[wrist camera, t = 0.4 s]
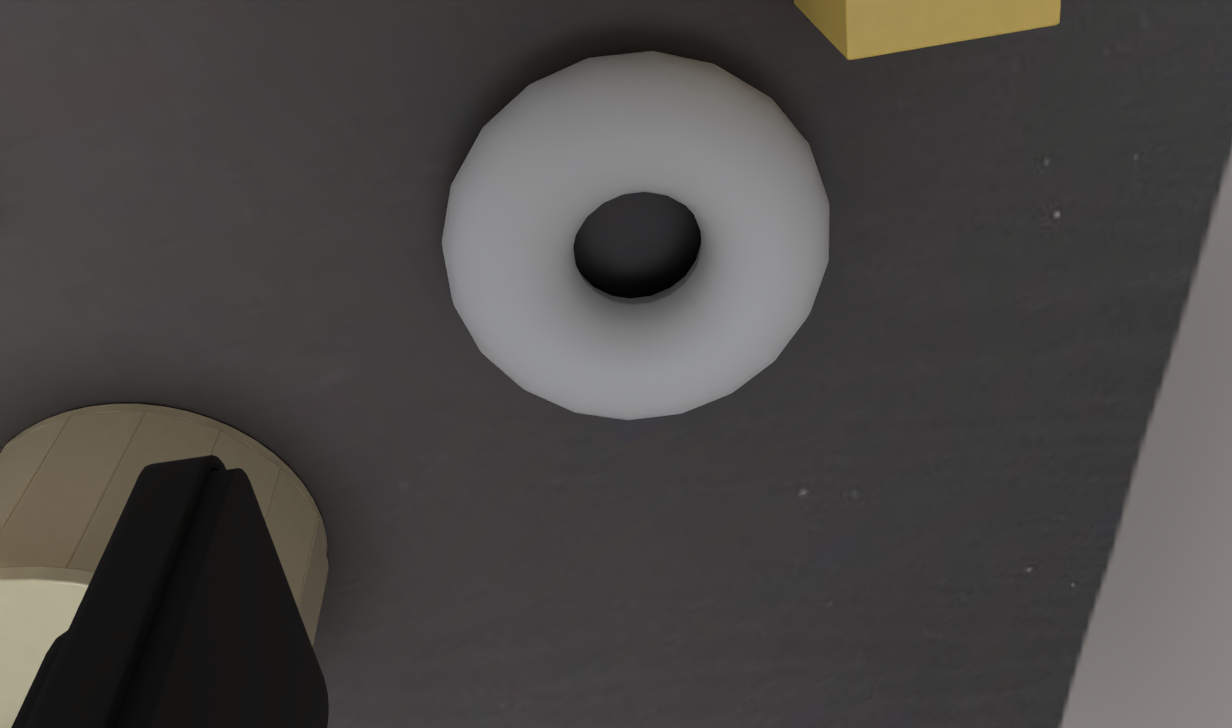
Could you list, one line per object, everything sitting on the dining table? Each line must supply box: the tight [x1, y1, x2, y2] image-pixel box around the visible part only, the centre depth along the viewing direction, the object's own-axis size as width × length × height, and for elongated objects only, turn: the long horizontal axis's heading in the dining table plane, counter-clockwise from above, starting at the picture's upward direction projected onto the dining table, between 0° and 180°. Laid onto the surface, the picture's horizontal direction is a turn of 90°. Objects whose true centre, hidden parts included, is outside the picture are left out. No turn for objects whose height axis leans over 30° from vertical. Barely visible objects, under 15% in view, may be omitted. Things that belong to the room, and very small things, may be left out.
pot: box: [0, 404, 329, 647], centre depth 31 cm, size 10×10×7 cm
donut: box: [442, 51, 829, 420], centre depth 28 cm, size 10×4×10 cm
